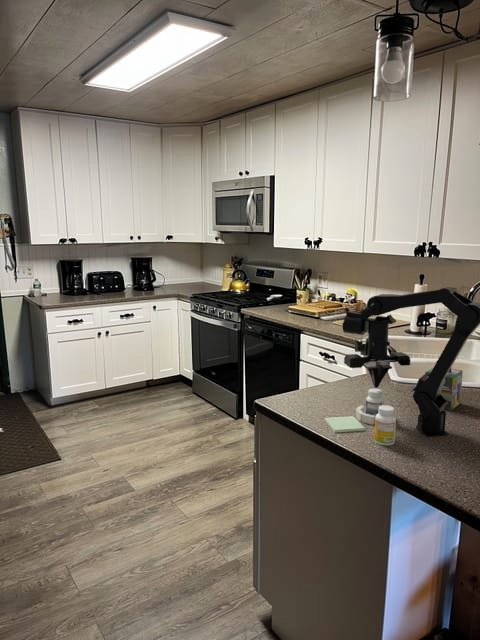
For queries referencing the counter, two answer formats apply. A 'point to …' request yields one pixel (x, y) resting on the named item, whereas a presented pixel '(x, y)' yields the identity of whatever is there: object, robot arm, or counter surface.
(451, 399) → the chalk box
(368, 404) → the pill bottle
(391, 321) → the robot arm
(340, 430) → the pad
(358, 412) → the locking ring
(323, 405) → the counter surface
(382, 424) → the supplement bottle
